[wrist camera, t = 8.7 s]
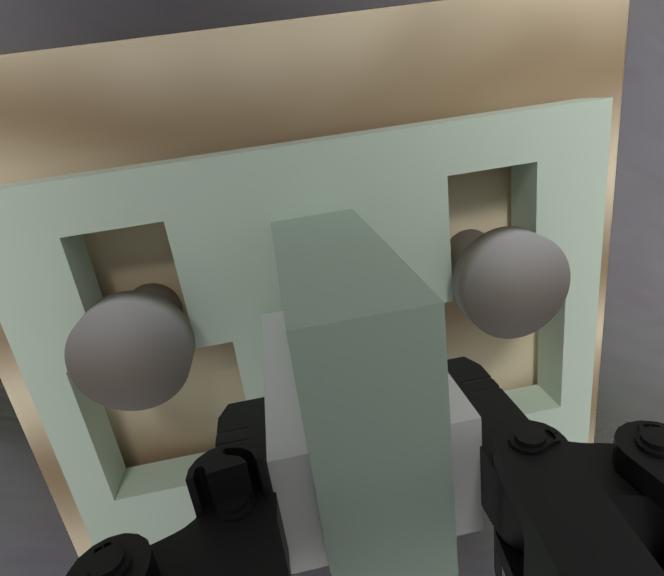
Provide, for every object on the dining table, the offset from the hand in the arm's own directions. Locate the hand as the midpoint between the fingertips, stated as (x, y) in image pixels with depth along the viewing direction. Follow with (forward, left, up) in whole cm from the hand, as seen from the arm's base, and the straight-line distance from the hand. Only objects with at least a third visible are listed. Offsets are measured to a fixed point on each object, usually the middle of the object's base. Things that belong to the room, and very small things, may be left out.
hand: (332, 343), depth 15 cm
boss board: (0, 0, -4) cm, 4 cm away
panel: (+1, 0, -2) cm, 2 cm away
